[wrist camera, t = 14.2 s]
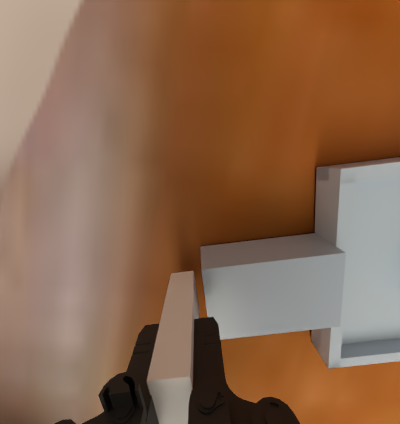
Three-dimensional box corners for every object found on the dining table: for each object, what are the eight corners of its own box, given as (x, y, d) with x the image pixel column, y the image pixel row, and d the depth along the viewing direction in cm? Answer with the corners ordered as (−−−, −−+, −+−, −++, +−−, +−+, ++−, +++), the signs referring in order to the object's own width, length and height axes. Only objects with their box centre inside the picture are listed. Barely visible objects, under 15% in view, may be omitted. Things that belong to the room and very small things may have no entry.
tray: (214, 351, 16) (217, 393, 13) (192, 182, 13) (190, 189, 10) (497, 320, 16) (563, 356, 13) (556, 137, 12) (666, 131, 10)
